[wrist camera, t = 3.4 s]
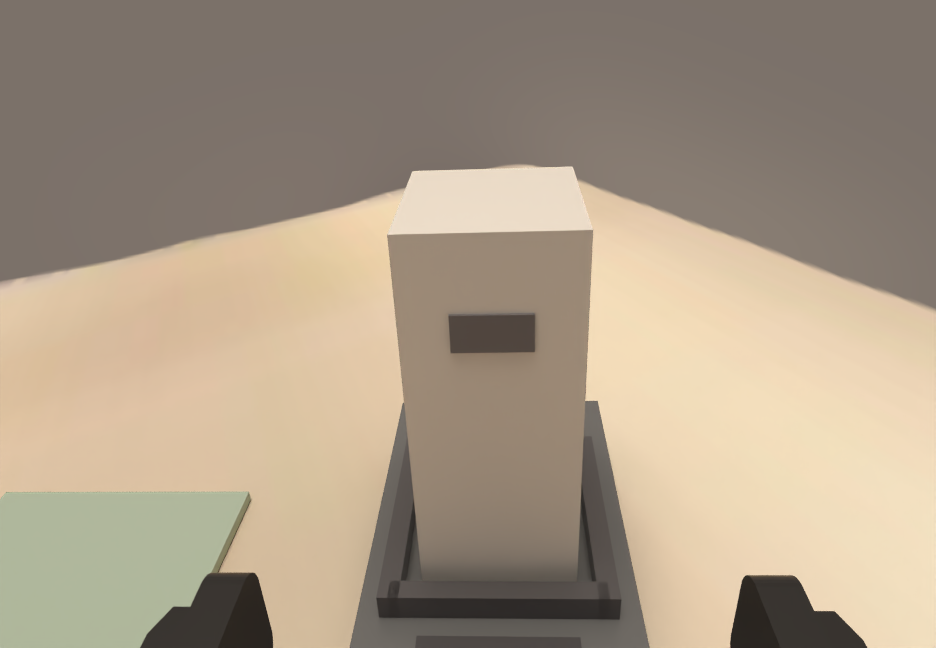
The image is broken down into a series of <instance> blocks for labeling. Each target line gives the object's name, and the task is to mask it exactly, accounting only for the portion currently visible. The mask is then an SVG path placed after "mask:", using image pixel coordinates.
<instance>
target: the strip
mask: <svg viewBox="0 0 936 648" xmlns="http://www.w3.org/2000/svg"><path fill="white" fill-rule="evenodd" d="M350 648H649V643H648V638H647V634H646V629H645V624H644V619H643V615H642V610H641V605H640V600H639V596H638V591H637V586H636V581H635V577H634V572H633V567H632V562H631V558H630V553H629V548H628V543H627V539H626V534H625V529H624V525H623V520H622V515H621V510H620V506H619V501H618V496H617V491H616V487H615V482H614V477H613V472H612V468H611V463H610V458H609V453H608V449H607V444H606V439H605V434H604V430H603V425H602V420H601V415H600V411H599V406H598V401H585V417H584V439H583V461H582V483H581V505H580V527H579V548H578V570H577V582H575V581H422V575H421V565H420V555H419V545H418V535H417V525H416V516H415V506H414V496H413V486H412V476H411V466H410V456H409V446H408V436H407V426H406V416H405V406H404V403H403V405H402V410H401V414H400V419H399V423H398V428H397V433H396V437H395V442H394V446H393V451H392V456H391V460H390V465H389V469H388V474H387V479H386V483H385V488H384V492H383V497H382V501H381V506H380V511H379V515H378V520H377V524H376V529H375V534H374V538H373V543H372V547H371V552H370V557H369V561H368V566H367V570H366V575H365V580H364V584H363V589H362V593H361V598H360V602H359V607H358V612H357V616H356V621H355V625H354V630H353V635H352V639H351V644H350Z"/></svg>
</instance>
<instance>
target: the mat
mask: <svg viewBox="0 0 936 648" xmlns="http://www.w3.org/2000/svg"><path fill="white" fill-rule="evenodd" d="M250 500H251V498H250V494H249V492H6V493H5V494H4V495H3V496H2V497H1V499H0V648H140V647H141V645H142V643H143V641H144V639H145V637H146V635H147V633H148V632H149V631H150V630H151V629H152V628H153V627H154V626H155V625H156V624H157V623H158V622H159V621H160V620H161V619H162V618H163V617H164V616H165V615H166V614H167V613H168V612H169V611H170V609H171V608H172V607H173V606H176V607H190V606H191V604H192V602H193V600H194V597H195V595H196V593H197V591H198V589H199V587H200V585H201V583H202V581H203V579H204V578H205V576H206V575H207V574H209V573H218V570H219V568H220V566H221V564H222V562H223V559H224V557H225V555H226V553H227V551H228V548H229V546H230V544H231V542H232V540H233V537H234V535H235V533H236V531H237V529H238V526H239V524H240V522H241V520H242V518H243V515H244V513H245V511H246V509H247V507H248V505H249V502H250Z"/></svg>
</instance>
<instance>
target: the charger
mask: <svg viewBox="0 0 936 648" xmlns="http://www.w3.org/2000/svg"><path fill="white" fill-rule="evenodd" d="M387 237H388V247H389V257H390V267H391V277H392V287H393V297H394V307H395V317H396V327H397V337H398V347H399V356H400V366H401V376H402V386H403V396H404V406H405V416H406V426H407V436H408V446H409V456H410V466H411V476H412V486H413V496H414V506H415V516H416V525H417V535H418V545H419V555H420V565H421V575H422V581H575V582H577V570H578V548H579V527H580V505H581V483H582V461H583V439H584V417H585V395H586V373H587V352H588V330H589V308H590V286H591V264H592V242H593V228H592V225H591V222H590V219H589V216H588V213H587V210H586V206H585V203H584V200H583V197H582V194H581V191H580V188H579V185H578V182H577V179H576V176H575V172H574V169H573V167H543V168H508V169H473V170H437V171H413V172H412V174H411V177H410V179H409V182H408V184H407V187H406V189H405V192H404V194H403V197H402V199H401V202H400V204H399V207H398V209H397V212H396V214H395V217H394V219H393V222H392V224H391V227H390V229H389V232H388V234H387Z"/></svg>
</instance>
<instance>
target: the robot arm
mask: <svg viewBox="0 0 936 648" xmlns="http://www.w3.org/2000/svg"><path fill="white" fill-rule="evenodd" d="M140 648H273V636H272V630H271V626H270V622H269V618H268V614H267V610H266V607H265V603H264V599H263V595H262V591H261V587H260V583H259V580H258V577H257V575H256V574H255V573H209V574H207V575H206V576H205V578H204V579H203V581H202V583H201V585H200V587H199V589H198V591H197V593H196V595H195V597H194V600H193V602H192V604H191V606H190V607H176V606H173V607H172V608H171V609H170V611H169V612H168V613H167V614H166V615H165V616H164V617H163V618H162V619H161V620H160V621H159V622H158V623H157V624H156V625H155V626H154V627H153V628H152V629H151V630H150V631H149V632H148V633H147V635H146V637H145V639H144V641H143V643H142V645H141V647H140ZM730 648H867V646H866V645H865V643H864V641H863V640H862V639H861V638H860V637H859V636H858V635H857V634H856V633H855V632H854V631H853V629H852V628H851V627H850V626H849V625H848V624H847V623H846V622H845V621H844V620H843V619H842V618H841V617H840V616H839V615H838V614H837V613H836V612H835V611H814V610H813V608H812V606H811V604H810V601H809V599H808V597H807V595H806V593H805V591H804V589H803V587H802V585H801V583H800V581H799V580H798V579H797V578H796V577H795V576H791V575H746V576H745V577H744V578H743V580H742V584H741V589H740V594H739V599H738V604H737V609H736V614H735V618H734V623H733V628H732V633H731V642H730Z"/></svg>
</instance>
